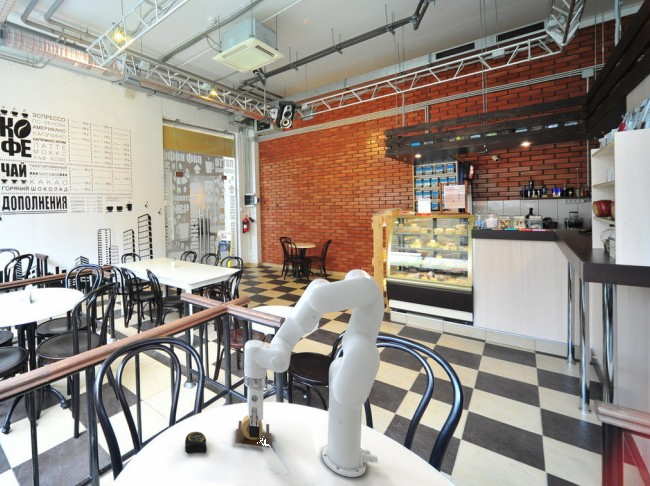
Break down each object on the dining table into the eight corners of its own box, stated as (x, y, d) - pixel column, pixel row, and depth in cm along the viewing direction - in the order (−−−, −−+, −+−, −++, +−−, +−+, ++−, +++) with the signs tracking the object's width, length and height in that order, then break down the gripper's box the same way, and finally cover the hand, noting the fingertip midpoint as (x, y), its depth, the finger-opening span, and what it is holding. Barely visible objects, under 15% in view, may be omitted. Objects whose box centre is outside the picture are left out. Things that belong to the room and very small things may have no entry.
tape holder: (271, 435, 113) (271, 424, 113) (271, 450, 106) (272, 438, 106) (236, 431, 115) (236, 420, 115) (234, 445, 108) (235, 433, 108)
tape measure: (184, 457, 102) (184, 445, 102) (185, 441, 109) (185, 430, 109) (206, 457, 103) (206, 445, 103) (205, 441, 109) (206, 430, 109)
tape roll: (264, 433, 111) (260, 413, 111) (264, 439, 109) (260, 418, 109) (244, 435, 112) (240, 415, 112) (243, 441, 110) (239, 420, 110)
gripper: (267, 393, 102) (265, 452, 102) (266, 368, 118) (265, 419, 118) (242, 391, 103) (241, 449, 103) (245, 366, 119) (244, 417, 119)
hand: (254, 432), depth 110 cm, fingers closed on tape roll, 2 cm apart
